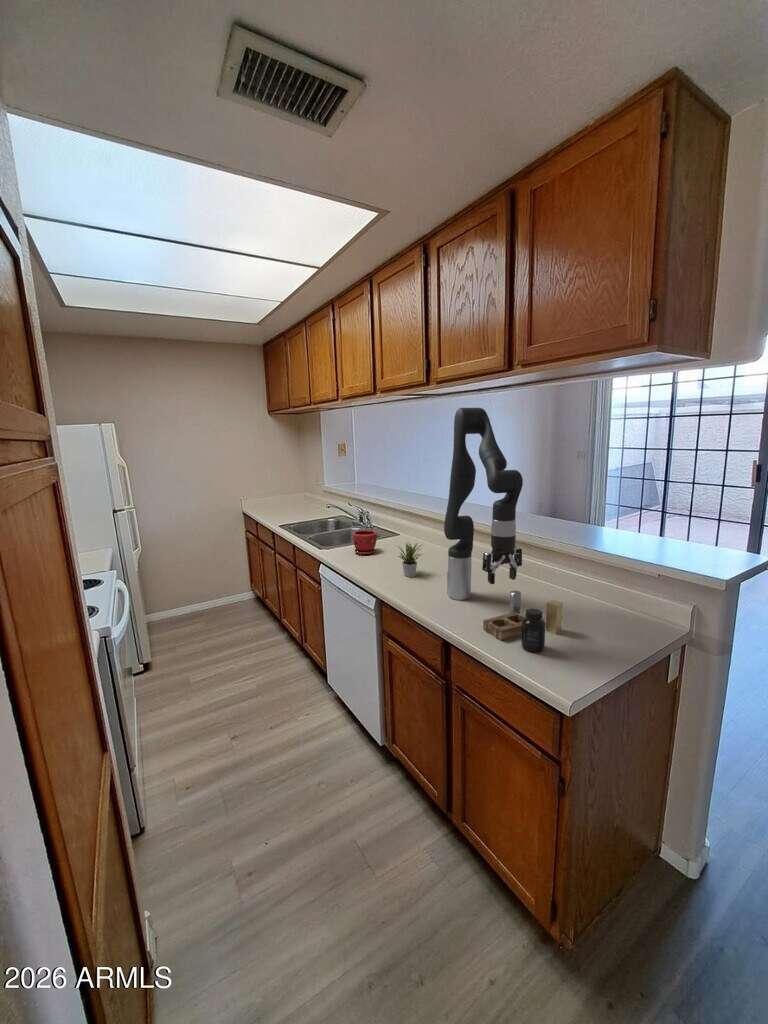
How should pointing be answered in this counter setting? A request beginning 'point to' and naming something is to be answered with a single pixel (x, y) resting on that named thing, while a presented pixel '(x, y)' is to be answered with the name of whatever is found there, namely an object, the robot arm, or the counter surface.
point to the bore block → (504, 626)
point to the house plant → (410, 560)
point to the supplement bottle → (533, 631)
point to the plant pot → (362, 545)
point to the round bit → (515, 601)
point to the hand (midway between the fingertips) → (502, 581)
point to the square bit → (554, 616)
